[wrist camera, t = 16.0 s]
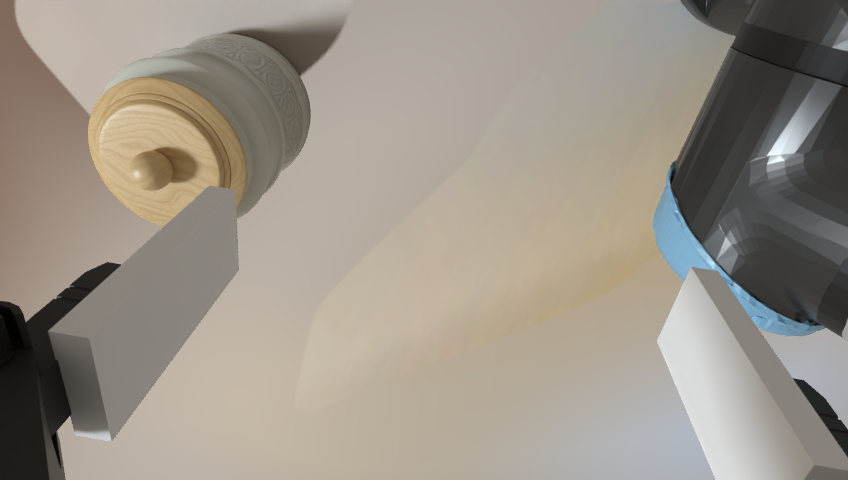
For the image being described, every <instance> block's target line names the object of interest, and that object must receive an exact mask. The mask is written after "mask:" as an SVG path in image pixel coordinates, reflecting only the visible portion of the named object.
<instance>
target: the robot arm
mask: <svg viewBox="0 0 848 480" xmlns="http://www.w3.org/2000/svg"><path fill="white" fill-rule="evenodd" d="M681 2H682V3H683V5H684V6H685V7H686V8H687V9H688V11H689V12H690V13H691V14H692V15H694V16H695V17H696V18H697V19H698V20H700V21H701V22H703V23H704V24H706V25H708V26H710V27H712V28H714V29H717V30H719V31H722V32H724V33H727V34H730V35H734V36H736V38H735V40H734V42H733V44H732V46H731V47H730V49H729V51H728V53H727V55H726V57H725V60H724V62H723V64H722V66H721V68H720V70H719V72H718V74H717V76H716V78H715V81H714V83H713V85H712V87H711V89H710V91H709V93H708V95H707V97H706V99H705V101H704V104H703V106H702V108H701V110H700V112H699V114H698V116H697V118H696V120H695V122H694V125H693V127H692V129H691V131H690V133H689V135H688V137H687V139H686V141H685V143H684V146H683V148H682V150H681V152H680V154H679V156H678V158H677V160H676V161H675V162H673V163H672V165H671V167H670V169H669V171H668V174H667V180H666V187H665V189H664V192H663V194H662V197H661V199H660V202H659V204H658V206H657V209H656V211H655V214H654V220H653V228H654V231H655V237H656V243H657V245H658V247H659V250H660V251H661V253H662V255H663V257H664V258H665V260H666V261H667V263H668V264H669V265H670V267H671V268H672V269H673V270H674V271H675V273H676V274H677V275H678V276H679V277H680V278H681V279H682V280H684V283H683V286H682V288H681V290H680V292H679V294H678V297H677V299H676V301H675V303H674V305H673V308H672V310H671V312H670V314H669V316H668V319H667V321H666V323H665V325H664V327H663V330H662V332H661V334H660V336H659V338H658V341H657V342H658V345H659V347H660V349H661V352H662V354H663V356H664V359H665V361H666V363H667V366H668V368H669V370H670V373H671V375H672V377H673V380H674V382H675V385H676V387H677V389H678V392H679V394H680V397H681V399H682V401H683V404H684V406H685V408H686V411H687V413H688V415H689V418H690V420H691V423H692V425H693V427H694V430H695V432H696V434H697V437H698V439H699V441H700V444H701V446H702V448H703V451H704V453H705V456H706V458H707V460H708V462H709V465H710V467H711V470H712V472H713V474H714V477H715V479H716V480H848V429H847V428H846V427H845V425H844V424H843V422H842V421H841V420H838V416H837V414H836V413H835V412H834V410H833V409H832V408H831V406H830V405H829V403H828V402H827V401H826V399H825V398H824V397H823V396H821V395H820V394H819V393H818V392H816V390H815V389H813V388H812V387H811V386H810V385H809V384H808V383H806V382H805V381H804V380H799V379H794V378H792V377H791V375H790V374H789V372H788V371H787V370H786V368H785V367H784V365H783V364H782V362H781V361H780V359H779V358H778V357H777V355H776V354H775V352H774V351H773V349H772V348H771V347H770V345H769V344H768V342H767V341H766V339H765V338H764V336H763V335H762V334H761V332H760V331H759V329H758V328H757V326H758V327H759V328H760V329H762V330H765V331H768V332H771V333H775V334H780V335H786V336H804V335H809V334H812V333H814V332H816V331H819V330H821V329H824V328H828V329H829V330H831V331H833V332H834V333H836V334H837V335H839V336H841V337H842V338H844V339H846V340H847V341H848V0H681ZM238 270H239V266H238V239H237V213H236V190H233V189H227V188H221V187H215V186H208V187H207V188H206V189H205V190H204V191H203V192H202V193H201V194H200V195H198V196H197V197H196V198H195V199H194V200H193V201H192V202H191V203H190V204H188V205H187V206H186V207H185V208H184V209H183V210H182V211H181V212H180V213H178V214H177V215H176V216H175V217H174V218H173V219H172V220H171V221H170V222H168V223H167V224H166V225H165V226H164V227H163V228H162V229H161V230H160V231H158V232H157V234H155V235H154V236H153V237H152V238H151V239H150V240H149V241H147V242H146V243H145V244H144V245H143V246H142V247H141V248H140V249H139V250H137V251H136V252H135V253H134V254H133V255H132V256H131V257H130V258H129V259H127V260H126V261H125V262H124V263H123V264H122V265H121V264H115V263H109V262H107V263H105V264H102V265H101V266H98V267H96V268H94V269H91V270H89V271H87V272H85V273H84V274H83V275H82V276H80V277H79V278H78V279H77V280H76V281H74V282H73V283H72V284H71V285H70V288H66V289H65V290H64V291H62V293H60V294H59V295H58V296H57V299H53V300H52V301H51V302H50V303H48V304H47V305H46V306H45V307H43V308H42V309H41V310H40V311H39V312H38V313H36V314H35V315H34V316H33V317H31V318H30V319H29V320H28V321H27V322H25V319H24V315H23V313H22V311H21V309H20V308H19V306H17V305H14V304H12V303H10V302H4V301H0V480H65V473H64V467H63V460H62V453H61V447H60V441H59V437H58V434H57V430H58V429H59V428H60V426H61V425H62V424H63V423H64V422H65V421H66V420H67V418H68V417H69V416H70V417H71V420H72V424H73V428H74V432H75V435H78V436H83V437H90V438H95V439H100V440H106V441H112V440H113V439H114V438H115V436H116V435H117V433H118V432H119V431H120V430H121V428H122V427H123V426H124V424H125V423H126V421H127V420H128V419H129V417H130V416H131V415H132V413H133V412H134V411H135V409H136V408H137V407H138V405H139V404H140V403H141V401H142V400H143V399H144V397H145V396H146V394H147V393H148V392H149V390H150V389H151V388H152V386H153V385H154V384H155V382H156V381H157V379H158V378H159V377H160V376H161V374H162V373H163V371H164V370H165V369H166V367H167V366H168V365H169V363H170V362H171V361H172V359H173V358H174V356H175V355H176V354H177V352H178V351H179V350H180V348H181V347H182V346H183V344H184V343H185V342H186V340H187V339H188V338H189V336H190V335H191V334H192V332H193V331H194V330H195V328H196V327H197V326H198V324H199V323H200V321H201V320H202V319H203V317H204V316H205V315H206V313H207V312H208V311H209V309H210V308H211V306H212V305H213V304H214V303H215V301H216V300H217V298H218V297H219V296H220V294H221V293H222V292H223V290H224V289H225V288H226V286H227V285H228V283H229V282H230V281H231V280H232V278H233V277H234V276H235V274H236V273H237V272H238ZM754 323H755V324H756V325H757V326H756V325H755V324H754Z"/></svg>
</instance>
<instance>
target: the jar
mask: <svg viewBox="0 0 848 480" xmlns="http://www.w3.org/2000/svg"><path fill="white" fill-rule="evenodd" d="M309 125H310V104H309V99H308V95H307V92H306V89H305V86H304V84H303V82H302V80H301V78H300V76H299V74H298V73H297V71H296V70H295V69H294V67H293V66H292V65H291V64H290V62H289V61H288V60H287V59H286V58H285V57H284V56H283V55H282V54H280V53H279V52H278V51H277V50H275V49H274V48H272V47H271V46H269V45H268V44H266V43H264V42H262V41H260V40H257V39H254V38H251V37H248V36H243V35H237V34H214V35H210V36H206V37H203V38H200V39H197V40H195V41H193V42H191V43H189V44H188V45H186V46H185V47H183V48H177V49H171V50H167V51H164V52H161V53H158V54H156V55H154V56H153V57H151V58H145V59H141V60H138V61H136V62H133V63H131V64H129V65H127V66H126V67H124V68H123V69H121V70H120V71H119V72H118V73H117V74H116V75H115V76H114V77H113V78H112V79H111V80H110V82H109V83H108V85H107V86H106V88H105V90H104V92H103V94H102V96H101V97H100V99H99V100H98V101H97V103H96V105H95V107H94V109H93V111H92V114H91V117H90V121H89V128H88V138H89V147H90V151H91V155H92V158H93V161H94V164H95V166H96V168H97V170H98V172H99V174H100V176H101V178H102V179H103V181H104V182H105V184H106V185H107V186H108V188H109V189H110V190H111V192H112V193H113V194H114V195H115V196H116V197H117V198H118V199H119V200H120V201H121V202H122V203H123V204H124V205H125V206H127V207H128V208H129V209H131V210H132V211H133V212H135V213H136V214H138V215H139V216H141V217H143V218H145V219H146V220H148V221H150V222H153V223H155V224H158V225H160V226H163V227H164V226H165V225H166V224H167V223H168V222H170V221H171V220H172V219H173V218H174V217H175V216H176V215H177V214H178V213H180V212H181V211H182V210H183V209H184V208H185V207H186V206H187V205H188V204H190V203H191V202H192V201H193V200H194V199H195V198H196V197H197V196H198V195H200V194H201V193H202V192H203V191H204V190H205V189H206V188H207V187H208V186H215V187H221V188H227V189H233V190H236V213H237V219H238V218H239V217H241V216H243V215H244V214H246V213H247V212H248V211H250V210H251V209H252V208H253V207H254V206H255V205H256V204H257V202H258V201H259V200H260V198H261V197H262V195H263V194H264V193H265V192H267V191H268V190H269V189H270V188H271V186H272V185H273V184H274V183H275V181H276V179H277V178H278V176H279V174H280V172H281V171H282V170H284V169H285V168H286V167H287V166H289V165H290V164H291V163H292V161H293V160H294V159H295V158H296V157H297V155H298V154H299V153H300V151H301V149H302V148H303V146H304V143H305V141H306V138H307V134H308V130H309Z"/></svg>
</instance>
